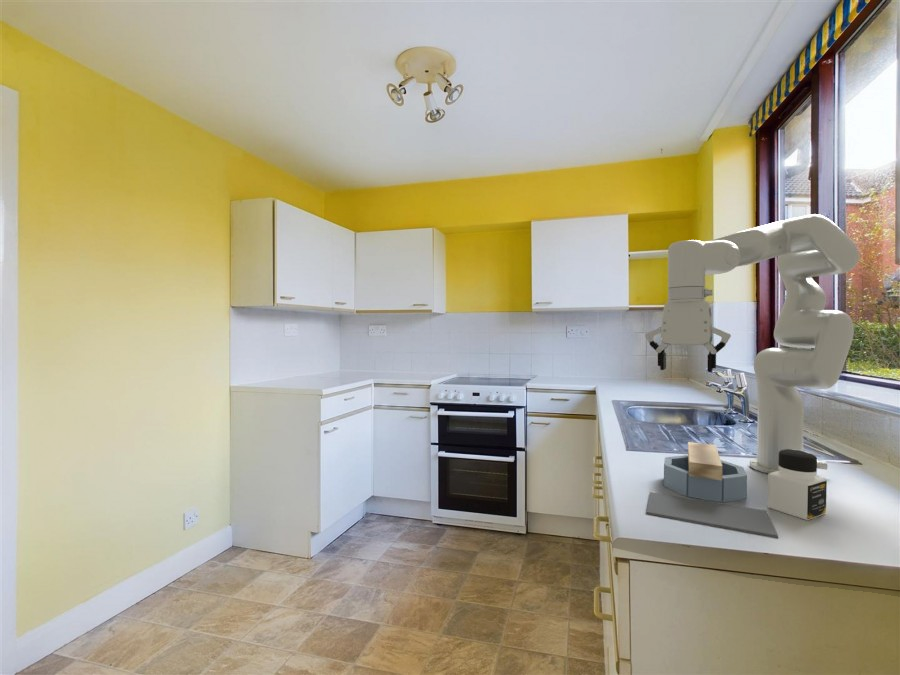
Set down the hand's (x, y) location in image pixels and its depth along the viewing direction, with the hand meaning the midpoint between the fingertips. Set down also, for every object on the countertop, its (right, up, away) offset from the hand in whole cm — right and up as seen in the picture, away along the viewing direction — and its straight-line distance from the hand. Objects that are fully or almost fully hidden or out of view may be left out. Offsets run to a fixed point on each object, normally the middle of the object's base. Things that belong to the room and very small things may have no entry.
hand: (686, 370), depth 101 cm
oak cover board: (+4, -22, 0) cm, 22 cm away
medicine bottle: (+15, -27, -13) cm, 34 cm away
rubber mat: (-4, -27, -14) cm, 31 cm away
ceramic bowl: (+4, -27, 0) cm, 27 cm away
